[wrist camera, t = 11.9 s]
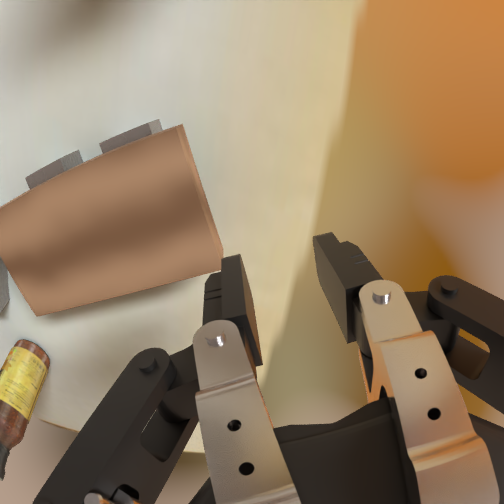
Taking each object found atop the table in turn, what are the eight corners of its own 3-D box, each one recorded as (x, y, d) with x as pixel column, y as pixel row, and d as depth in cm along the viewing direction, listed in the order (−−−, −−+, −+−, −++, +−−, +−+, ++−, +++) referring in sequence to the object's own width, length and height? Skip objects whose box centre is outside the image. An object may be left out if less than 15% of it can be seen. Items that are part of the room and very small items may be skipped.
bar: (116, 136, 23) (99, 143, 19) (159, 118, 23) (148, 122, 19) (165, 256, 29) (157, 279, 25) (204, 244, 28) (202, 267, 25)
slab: (1, 206, 20) (-18, 219, 18) (182, 123, 19) (175, 127, 17) (49, 297, 25) (36, 316, 22) (223, 249, 24) (223, 269, 22)
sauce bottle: (13, 330, 31) (-46, 447, 14) (50, 346, 33) (-1, 474, 15) (19, 360, 34) (-26, 467, 16) (54, 374, 35) (15, 490, 18)
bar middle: (47, 166, 23) (25, 177, 19) (80, 148, 23) (59, 158, 19) (97, 273, 29) (84, 296, 25) (129, 263, 29) (118, 287, 25)
